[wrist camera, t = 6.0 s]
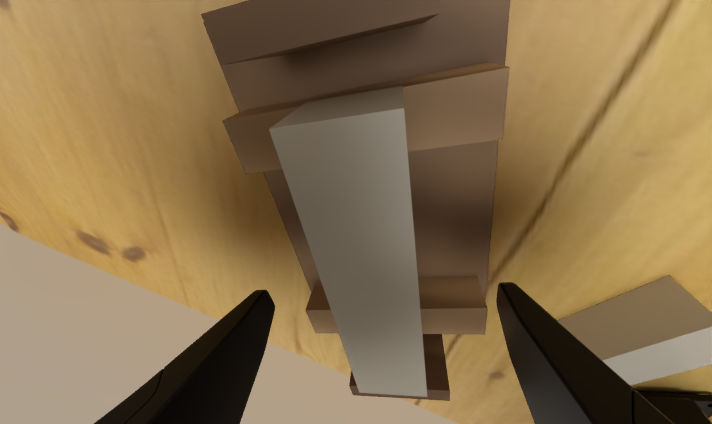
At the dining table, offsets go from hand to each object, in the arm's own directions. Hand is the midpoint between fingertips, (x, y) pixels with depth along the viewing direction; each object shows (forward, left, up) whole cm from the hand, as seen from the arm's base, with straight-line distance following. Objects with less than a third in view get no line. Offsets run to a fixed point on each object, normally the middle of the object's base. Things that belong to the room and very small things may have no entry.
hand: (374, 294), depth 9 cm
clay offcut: (-9, -12, -3) cm, 15 cm away
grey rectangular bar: (0, 0, -2) cm, 3 cm away
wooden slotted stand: (0, 0, -6) cm, 6 cm away
